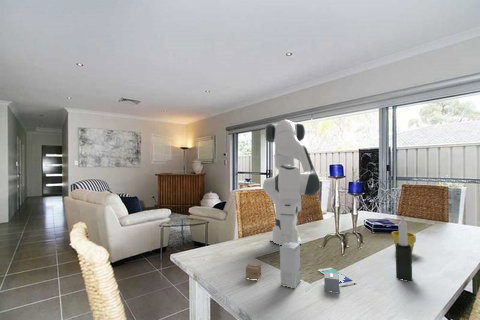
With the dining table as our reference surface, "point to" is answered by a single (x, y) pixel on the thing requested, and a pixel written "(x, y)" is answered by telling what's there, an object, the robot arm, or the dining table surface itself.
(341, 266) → the dining table surface
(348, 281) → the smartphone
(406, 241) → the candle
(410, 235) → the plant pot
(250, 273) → the walnut block
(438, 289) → the dining table surface
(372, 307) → the dining table surface
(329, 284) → the slate block
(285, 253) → the skincare box
